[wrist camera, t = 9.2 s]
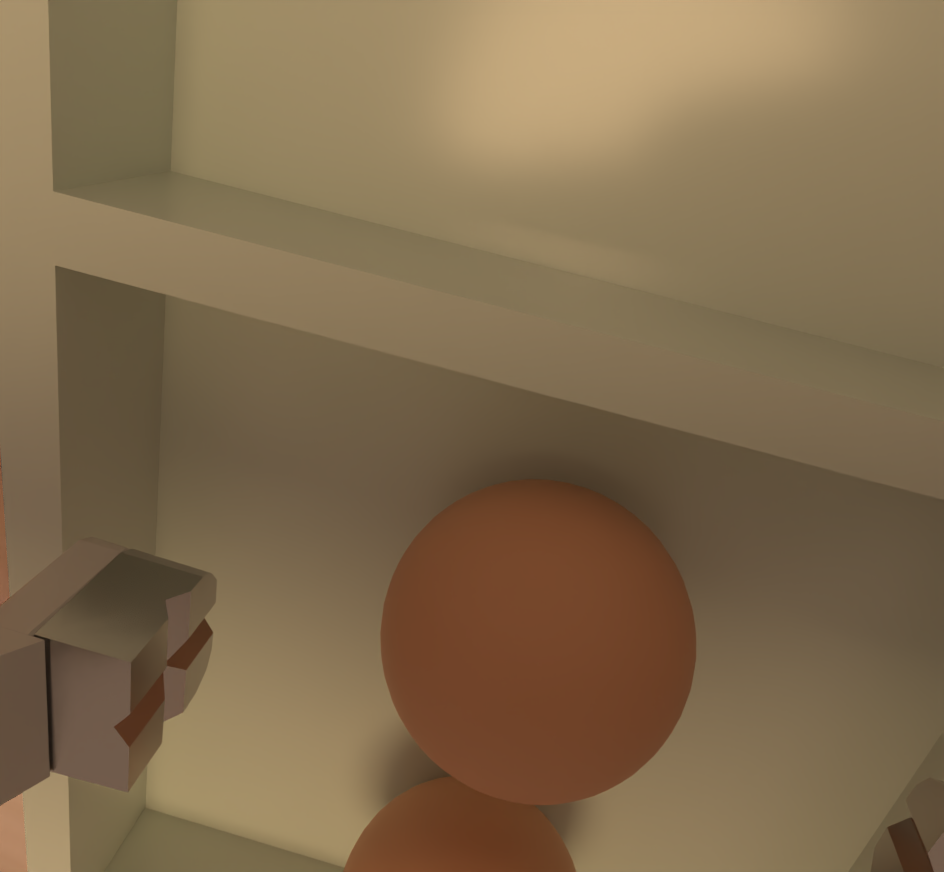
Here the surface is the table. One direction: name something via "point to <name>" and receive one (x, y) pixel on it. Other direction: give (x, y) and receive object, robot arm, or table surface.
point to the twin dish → (486, 383)
